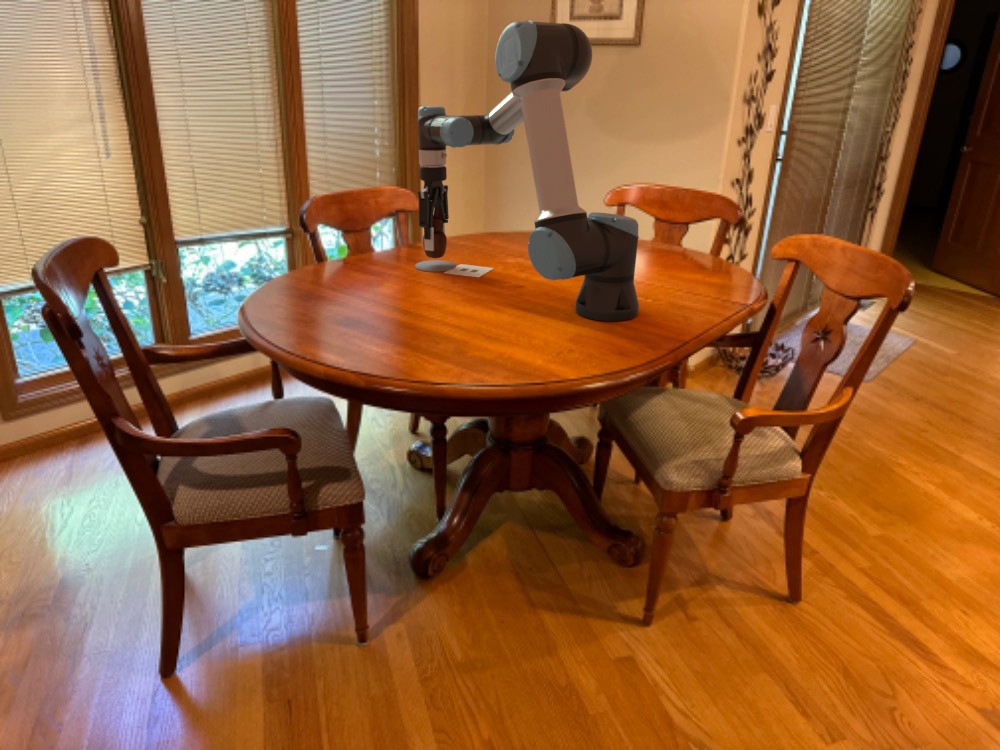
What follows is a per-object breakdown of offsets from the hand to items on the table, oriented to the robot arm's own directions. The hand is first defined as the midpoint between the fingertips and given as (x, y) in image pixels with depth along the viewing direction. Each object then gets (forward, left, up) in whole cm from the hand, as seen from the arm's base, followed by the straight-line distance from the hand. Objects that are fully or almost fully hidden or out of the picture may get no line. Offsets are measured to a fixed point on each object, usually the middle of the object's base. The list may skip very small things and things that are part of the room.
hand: (434, 247), depth 200 cm
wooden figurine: (0, 0, -3) cm, 3 cm away
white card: (0, -11, -6) cm, 12 cm away
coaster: (0, 0, -6) cm, 6 cm away
